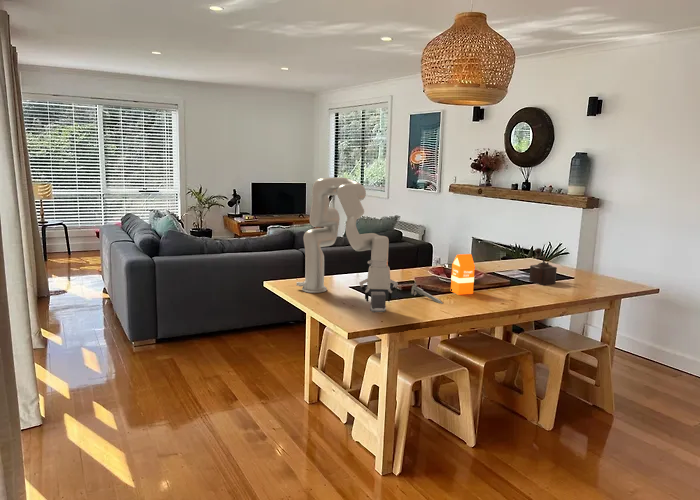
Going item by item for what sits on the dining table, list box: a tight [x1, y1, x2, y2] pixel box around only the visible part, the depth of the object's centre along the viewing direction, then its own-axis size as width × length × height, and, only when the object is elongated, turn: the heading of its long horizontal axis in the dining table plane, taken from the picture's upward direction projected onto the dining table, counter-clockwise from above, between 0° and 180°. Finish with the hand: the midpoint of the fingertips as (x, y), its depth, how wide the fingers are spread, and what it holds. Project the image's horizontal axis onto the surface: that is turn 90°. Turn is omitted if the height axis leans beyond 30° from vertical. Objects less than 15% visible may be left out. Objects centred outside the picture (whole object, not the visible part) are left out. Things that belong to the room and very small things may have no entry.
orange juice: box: [450, 253, 476, 296], centre depth 277 cm, size 8×9×20 cm
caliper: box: [410, 283, 444, 305], centre depth 264 cm, size 20×1×6 cm, turn 39°
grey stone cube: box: [370, 291, 387, 308], centre depth 243 cm, size 6×6×6 cm
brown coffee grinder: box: [528, 247, 558, 286], centre depth 305 cm, size 16×11×18 cm
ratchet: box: [369, 305, 387, 313], centre depth 250 cm, size 7×21×5 cm, turn 3°
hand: (377, 300), depth 243 cm, fingers open, 9 cm apart
